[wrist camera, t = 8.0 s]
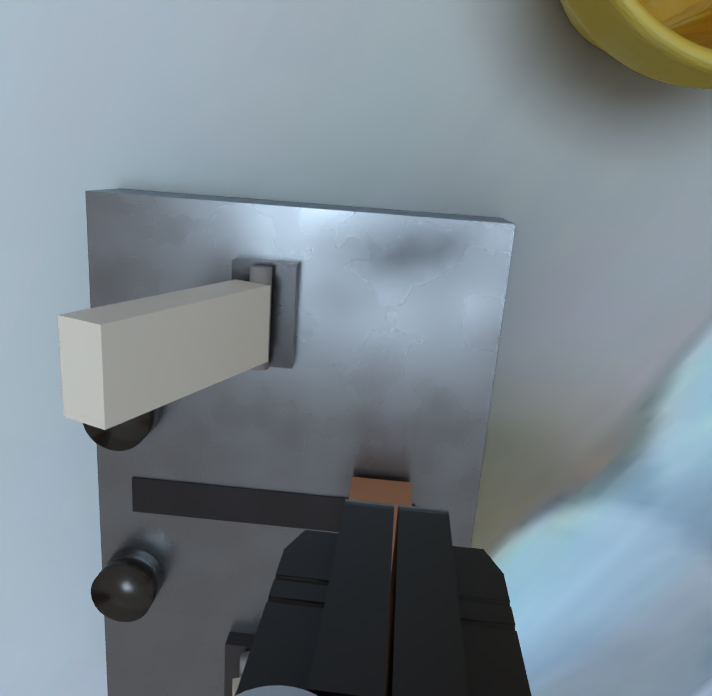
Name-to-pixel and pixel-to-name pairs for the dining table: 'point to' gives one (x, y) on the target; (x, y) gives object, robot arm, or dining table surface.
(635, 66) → the plant pot
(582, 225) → the dining table surface
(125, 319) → the lever
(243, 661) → the lever
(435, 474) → the panel
